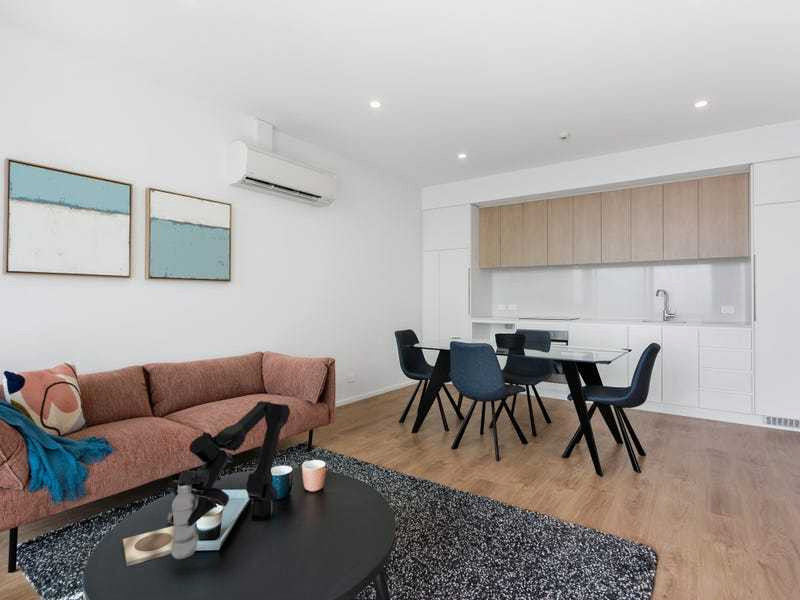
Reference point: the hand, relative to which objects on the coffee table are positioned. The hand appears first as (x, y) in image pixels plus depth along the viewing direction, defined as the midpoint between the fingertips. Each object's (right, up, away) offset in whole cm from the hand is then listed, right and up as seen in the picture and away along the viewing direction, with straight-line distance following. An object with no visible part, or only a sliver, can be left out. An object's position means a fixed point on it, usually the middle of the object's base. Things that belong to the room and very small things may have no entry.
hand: (180, 523), depth 118 cm
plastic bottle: (0, -10, +1) cm, 10 cm away
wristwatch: (-15, -14, +27) cm, 34 cm away
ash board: (-15, -13, +12) cm, 23 cm away
